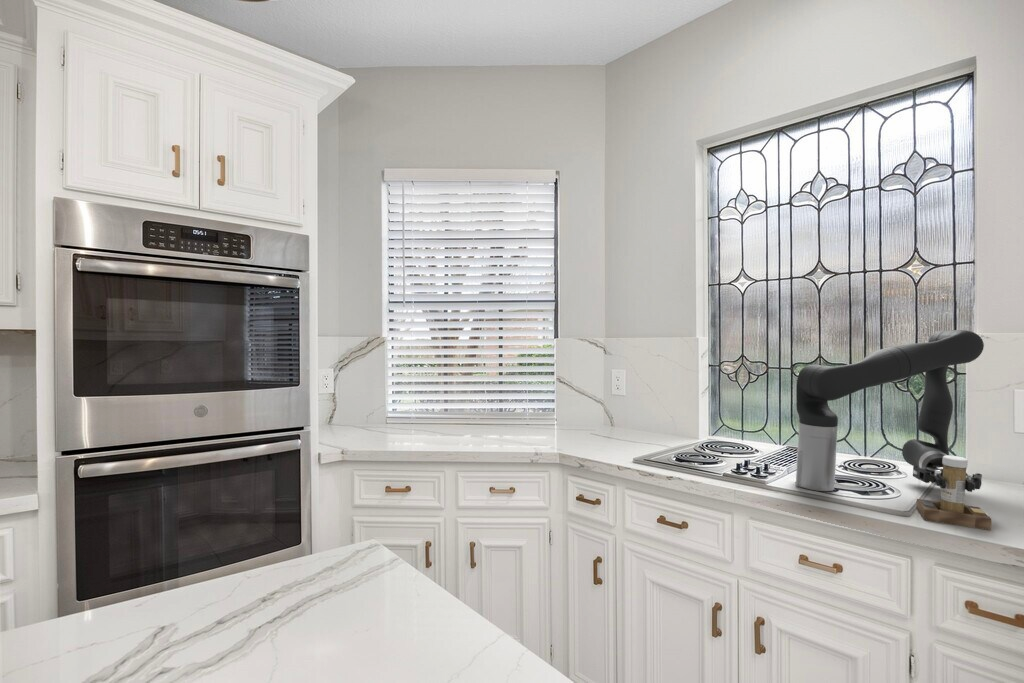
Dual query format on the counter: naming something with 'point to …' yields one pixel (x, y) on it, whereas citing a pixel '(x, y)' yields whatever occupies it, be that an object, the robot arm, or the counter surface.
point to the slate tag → (927, 504)
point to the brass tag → (977, 511)
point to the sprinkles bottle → (954, 483)
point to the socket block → (953, 515)
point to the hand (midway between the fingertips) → (956, 485)
